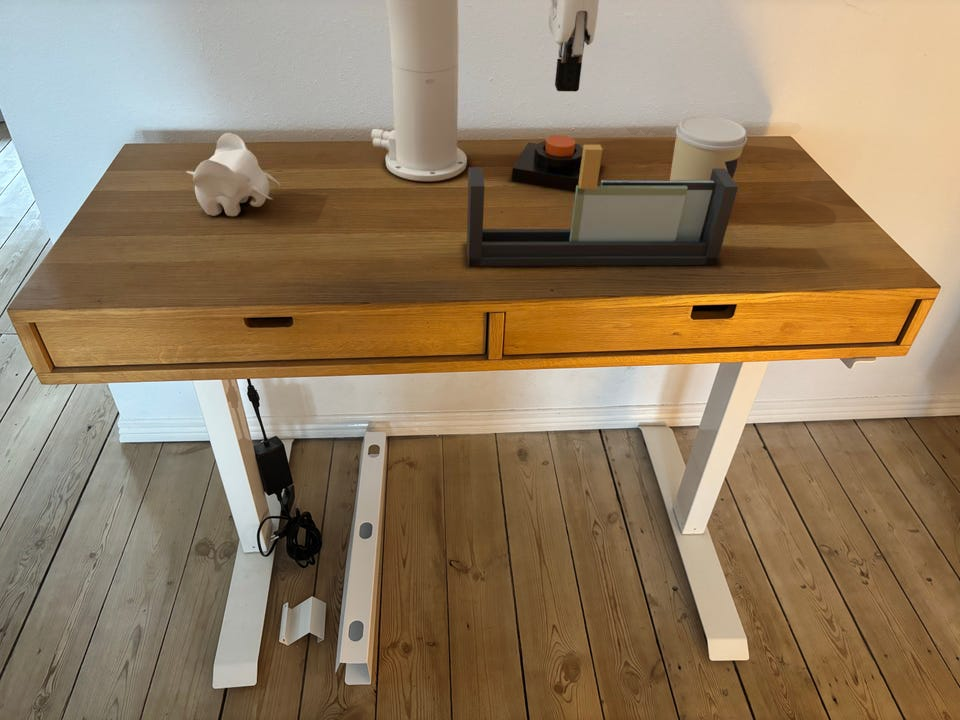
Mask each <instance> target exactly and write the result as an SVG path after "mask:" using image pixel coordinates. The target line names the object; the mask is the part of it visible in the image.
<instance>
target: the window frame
mask: <svg viewBox="0 0 960 720" xmlns="http://www.w3.org/2000/svg"><path fill="white" fill-rule="evenodd" d="M467 176H468V177H467V180H468V182H467V214H466V215H467V217H466V219H467V220H466V227H467V228H466V254H467V261H468V262H467V264H468V267H572V266H573V267H579V266H580V267H581V266H583V267H586V266H588V267H589V266H591V267H593V266H596V267H597V266H598V267H599V266H601V267H603V266H607V267H608V266H613V267H614V266H717V264H718V260H719V256H720V253H721V250H722V246H723V243H724V239H725V236H726V232H727V228H728V226H729V223H730V218H731V215H732V211H733V208H734V204H735V202H736V201H735V200H736V196H737V193H738V191H739V190H738V189H739V186H738V184H737V183H736V182H735V180H734V178H733V179H732V177H731V176H730V175H729V173H728V172H727V171H726V169H713V170H712V174H711V178H710V181H680V180H670V179H669V180H665V179H663V180H655V179H654V180H653V179H652V180H648V179H645V180H644V179H643V180H641V179H639V180H638V179H637V180H636V179H635V180H634V179H632V180H630V179H627V180H626V179H621V180H620V179H618V180H617V179H601V181H600V186H687V188H688V189H687V193H686V197H685V201H684V206H683V210H682V214H681V218H680V223H679V227H678V231H677V235H676V240H675V241H647V242H569V240H570V232H571V228H484V208H485V187H486V186H485V182H484V181H485V180H484V173H483V167H468V175H467Z"/></svg>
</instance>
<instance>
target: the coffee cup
mask: <svg viewBox="0 0 960 720" xmlns="http://www.w3.org/2000/svg"><path fill="white" fill-rule="evenodd" d="M675 135H676V136H675V141H674V142H675V143H674V149H673V155H672V163H671V169H670V177H669V180H680V181H710V178H711V174H712V170H713V169H726V171H727V172H728V173H729V175H730V176H731V177H732V179H733V180H734V176H735V173H736V171H737V168H738V164H739V162H740V159H741V156H742V153H743V150H744V146H745V145H746V144H747V141H748V134H747V129H746V128H745V127H744V126H743V125H742V124H740V123H739V122H736V121H734V120H731V119H729V118H726V117H722V116H715V115H705V114H704V115H703V114H702V115H701V114H700V115H691V116H687V117H685V118H684V119H682V120H681V121H679V124H678V125H677V126H676V129H675Z"/></svg>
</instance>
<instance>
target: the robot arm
mask: <svg viewBox="0 0 960 720" xmlns="http://www.w3.org/2000/svg"><path fill="white" fill-rule="evenodd" d="M385 3H386V11H387V19H388V29H389V44H390V46H389V47H390V62H391V82H392V108H393V127H394V129H392V130H391V131H389V130H388V131H387V130H385V129H379V128H373V129H372V130H371V134H370V139H371V141H372V146H373V148H378V149H382V148H383V149H386V151H387V153H386V155H385V167H386V168H387V170H388V171H389V172H391V174H393V175H395V176H397V177H399V178H402V179H405V180H410V181H415V182H439V181H445V180H448V179H453V178H455V177H457V176H458V175H460V174H462V173H463V172H464V171H465V170H466V168H467V166H468V157H467V154H466V153H465V151H463V150H462V149H460V148H459V147H458V118H459V117H458V114H459V113H458V110H459V109H458V107H459V105H458V103H459V0H385ZM599 3H600V0H550V7H549V17H548V27H549V30H550V32H551V35H552V37H553V39H554V41H555V42H556V43H557V45H558V58H557V59H556V60H557V61H556V70H555V80H554V86H555V89H556V91H557V92H578V91H579V90H580V83H581V74H582V67H583V66H582V65H583V55H584V49H585V44H586V46H589V45H591V44H592V43H593V42H594V38H595V34H596V27H597V19H598V12H599Z"/></svg>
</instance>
